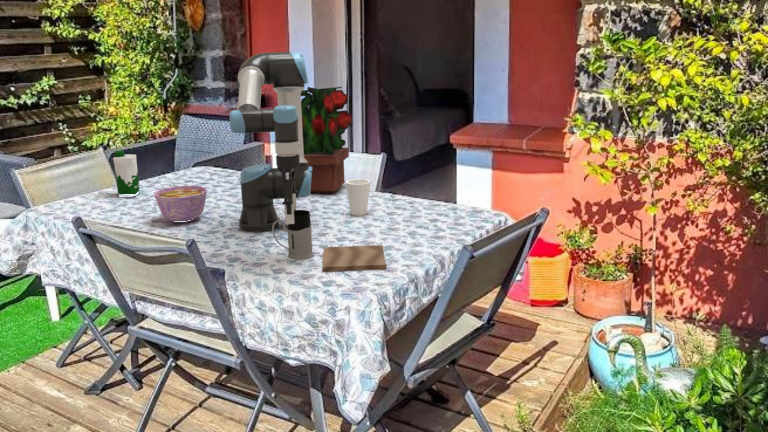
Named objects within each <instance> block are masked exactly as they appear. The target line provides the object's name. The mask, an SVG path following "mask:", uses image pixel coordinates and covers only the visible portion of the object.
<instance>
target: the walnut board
mask: <svg viewBox="0 0 768 432" xmlns="http://www.w3.org/2000/svg"><path fill="white" fill-rule="evenodd" d="M322 258H323V259H322V272H323V273H324V272H345V271H346V272H347V271H349V272H350V271H369V270H372V271H374V270H387V262H386V257H385V251H384V245H383V244H375V245H350V246H349V245H348V246H326V247H325V246H324V247H323V255H322Z"/></svg>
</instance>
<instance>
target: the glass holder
mask: <svg viewBox="0 0 768 432" xmlns="http://www.w3.org/2000/svg"><path fill="white" fill-rule="evenodd" d="M277 222H279V223H281V224H282V227H283V231H284V232H285V233H287V242H288V243H287V244H288V247H287V246H285V245H283V244H282V243H281V242H279V241H278V239H277V237H276V234H275V229H274V225H275V224H276V223H277ZM271 231H272V236H273V238H274V240H275V241H276V243H277V244H278V245H280V246H281V247H283V248H285V249H286V250H287V251H288V255H287V258H288V259H289V258H290V259H289V260H292V259H294V260H293V261H304V260H310V259H312V258H314V256H315V254H314V252H313V240H312V237H313V236H312V221H311V211H309V210H308V209H307V210H306V209H296V210H294V224H287V230H286V224H285V222H284V221H282V220H281V219H279V220H278V221H276V222H274V223H273V226H272V230H271Z"/></svg>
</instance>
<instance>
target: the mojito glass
mask: <svg viewBox="0 0 768 432" xmlns="http://www.w3.org/2000/svg"><path fill="white" fill-rule="evenodd" d="M112 161H113V164H114V172H115V173H114V174H115V181H116V187H117V188H116V189H117V195H118V194H136V193H137V192H138V191H139V192H140V179H139V173H138V172H139V171H138V163H137V162H138V161H137V154H131V153H130V154H127V153H126V154H125V151H124V150H116V151H114V156H113V158H112Z"/></svg>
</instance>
